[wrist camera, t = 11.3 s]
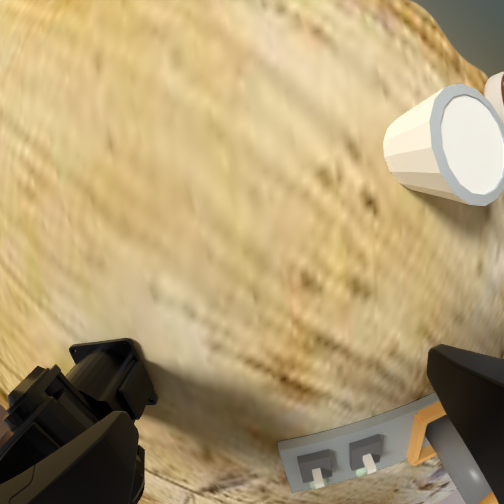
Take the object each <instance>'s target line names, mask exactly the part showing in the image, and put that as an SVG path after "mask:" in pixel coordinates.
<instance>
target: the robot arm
mask: <svg viewBox="0 0 504 504" xmlns="http://www.w3.org/2000/svg"><path fill="white" fill-rule="evenodd" d="M124 343H126V344H127V345H128V346H126V345H125V344H124ZM74 350H75V351H76V352H75V351H74ZM69 351H70V354H71V356H72V358H73V360H74V362H75V364H76V365H75V366H74V367H73V368H72V369H71V370H70V371H69V373H68V374H67V375H66V376H64V375H63V373H62V372H61V369H60V368H59V367H58V366H57V365H56V364H55V365H54V366H53V367H52V368H51V369H49V368H47V369H44V368H42V367H40V366H37V367H36V368H35V369H34V370H33V371H32V372H31V373H30V374H29V375H28V376H27V377H26V378H25V379H24V380H23V381H22V382H21V383H20V384H19V385H18V386H17V387H16V388H15V389H14V390H13V391H12V392H11V393H10V394H9V395H8V401H9V408H8V409H7V410H6V412H7V414H6V416H5V417H4V418H3V420H2V421H3V422H4V423H5V424H6V426H7V427H8V428H9V429H8V430H7V431H6V432H5V433H4V435H3V436H2V437H1V438H0V504H137V503H138V501H139V500H140V498H141V496H142V494H143V491H144V485H145V480H144V459H145V450H144V449H143V448H142V447H141V446H140V445H138V439H139V433H138V430H137V428H136V426H135V425H134V422H135V420H139V419H140V417H141V415H142V413H143V411H144V408H145V406H146V405H155V404H157V401H158V397H157V395H156V393H155V391H154V389H153V388H154V387H153V384H152V382H151V380H150V378H149V376H148V374H147V372H146V369H145V367H144V365H143V363H142V362H141V361H140V359H139V357H138V355H137V352H136V350H135V348H134V345H133V343H132V341H131V340H130V339H128V338H122V339H115V340H107V341H99V342H91V343H82V344H74V345H72V346H71V347H70V348H69ZM427 376H428V379H429V381H430V383H431V385H432V386H433V388H434V390H435V392H436V394H437V396H438V398H439V400H440V402H441V404H442V407H443V409H444V411H445V412H446V414H447V416H448V418H449V419H450V421H451V423H452V424H453V426H454V427H455V429H456V430H457V432H458V434H459V435H460V437H461V438H462V440H463V442H464V443H465V445H466V446H467V448H468V450H469V451H470V453H471V455H472V456H473V458H474V460H475V462H476V463H477V465H478V467H479V468H480V470H481V472H482V474H483V475H484V477H485V479H486V481H487V483H488V484H489V486H490V488H491V490H492V492H493V494H494V495H495V497H496V499H497V501H498V503H499V504H504V359H500V358H496V357H492V356H487V355H483V354H479V353H475V352H471V351H467V350H463V349H459V348H455V347H452V346H448V345H444V344H439V345H437V346H435V347H432V348H431V349H430V350H429V352H428V362H427ZM150 398H151V399H150ZM152 399H153V400H152Z"/></svg>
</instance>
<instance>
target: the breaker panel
mask: <svg viewBox="0 0 504 504" xmlns="http://www.w3.org/2000/svg"><path fill="white" fill-rule="evenodd" d="M444 415H446V412H445V411H444V409H443V407H442V404H441V402H440V400H439V398H438V396H437V394H436V392H434V393H432V394H430V395H428V396H426V397H423V398H421V399H419V400H416V401H414V402H412V403H409V404H407V405H404V406H402V407H399V408H397V409H394V410H391V411H389V412H386V413H383V414H380V415H377V416H375V417H372V418H369V419H366V420H362V421H359V422H356V423H353V424H350V425H346V426H343V427H339V428H336V429H332V430H328V431H324V432H320V433H316V434H312V435H308V436H303V437H299V438H294V439H289V440H284V441H279V442H277V443H278V451H279V454H280V458H281V461H282V464H283V467H284V470H285V473H286V476H287V479H288V482H289V485H290V488H291V491H292V493H295V492H300V491H305V490H310V489H319V488H322V487H324V486H327V485H331V484H335V483H339V482H343V481H346V480H350V479H353V478H356V477H362V476H366V475H368V474H370V473H373V472H376V471H378V470H381V469H383V468H386V467H389V466H391V465H394V464H397V463H399V462H402V461H404V460H406V459H408V461H409V462H410V464H411V465H416V464H419V463H421V462H423V461H425V460H427V459H429V458H432V457H434V456H436V455H437V454H436V453H435V451H434V449H433V448H432V446H431V445H430V443H429V442H428V440H427V438H426V437H425V431H426V427H427V425H428V424H429V423H430V422H432V421H434V420H436V419H438V418H440V417H442V416H444Z"/></svg>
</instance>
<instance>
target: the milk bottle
mask: <svg viewBox="0 0 504 504" xmlns="http://www.w3.org/2000/svg"><path fill="white" fill-rule="evenodd" d="M484 97H485V98H486V99H487V100H488V101H489V102H491V104H492V105H493V107H494V109H495V110H496V112H497V113H498V115H499V117H500V118H501V120H502V122H503V125H504V72H501V73H499V74H496V75H494V76H492V77H490V78H489V79H488V81H487V82H486V85H485V87H484Z"/></svg>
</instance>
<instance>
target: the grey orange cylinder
mask: <svg viewBox="0 0 504 504" xmlns="http://www.w3.org/2000/svg"><path fill="white" fill-rule="evenodd" d="M425 437H426V438H427V440H428V442H429V443H430V445H431V446H432V448H433V449H434V451H435V453H436V454H437V456H438V458H439V459H440V461H441V462H442V464H443V466H444V467H445V469H446V471H447V472H448V474H449V476H450V477H451V479H452V481H453V482H454V484H455V486H456V487H457V489H458V491H459V492H460V494H461V496H462V498H463V499H464V501H465V503H466V504H499V503H498V501H497V499H496V497H495V495H494V494H493V492H492V490H491V488H490V486H489V484H488V483H487V481H486V479H485V477H484V475H483V474H482V472H481V470H480V468H479V467H478V465H477V463H476V462H475V460H474V458H473V456H472V455H471V453H470V451H469V450H468V448H467V446H466V445H465V443H464V442H463V440H462V438H461V437H460V435H459V434H458V432H457V430H456V429H455V427H454V426H453V424H452V423H451V421H450V419H449V418H448V416H447V414H446V415H444V416H442V417H440V418H438V419H436V420H434V421H432V422H430V423H429V424H428V425H427V427H426V431H425Z"/></svg>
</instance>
